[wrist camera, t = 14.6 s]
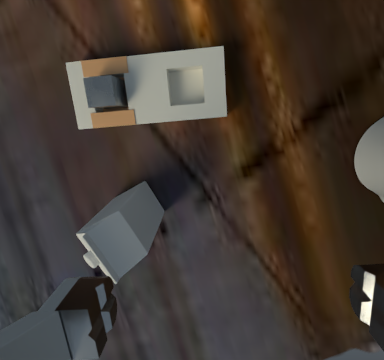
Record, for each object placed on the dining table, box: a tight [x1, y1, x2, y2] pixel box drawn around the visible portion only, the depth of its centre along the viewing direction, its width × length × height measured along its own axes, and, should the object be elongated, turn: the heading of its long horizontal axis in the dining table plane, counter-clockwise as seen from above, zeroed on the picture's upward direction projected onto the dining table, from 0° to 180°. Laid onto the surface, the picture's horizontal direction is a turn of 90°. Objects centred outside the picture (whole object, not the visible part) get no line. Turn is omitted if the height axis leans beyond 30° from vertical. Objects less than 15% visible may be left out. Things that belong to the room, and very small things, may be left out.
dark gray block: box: [83, 75, 128, 109], centre depth 38 cm, size 4×4×7 cm
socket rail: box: [66, 46, 227, 129], centre depth 40 cm, size 24×10×4 cm, turn 95°
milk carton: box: [76, 181, 165, 284], centre depth 39 cm, size 7×7×19 cm
